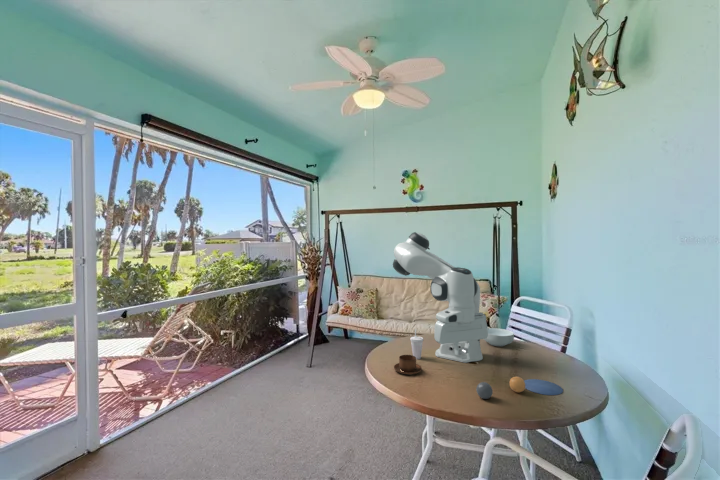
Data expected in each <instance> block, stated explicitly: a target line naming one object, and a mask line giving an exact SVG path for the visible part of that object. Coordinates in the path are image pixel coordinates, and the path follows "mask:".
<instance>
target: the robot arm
mask: <svg viewBox="0 0 720 480" xmlns="http://www.w3.org/2000/svg"><path fill="white" fill-rule="evenodd" d="M428 250H430V240H429V239H428V237H426V235H424V234H423V233H421V232H416V231H415V232H411V234H410V235H409V236H408V238H407V239H406V240H405V241H402V242H399V243H398V244H396V245H395V247H394V249H393V256H394V258H395V259H393V262H392V268H393V269H394V270H395V272H396V273H397V274H400V275H402V276H406V277H407V276H410V274H411V275H414V276H420V277H421V276H423V277H424V276H427V277H428V278H430V279H431V283H430V287H429V288H430V294H431V295H432V297H433V298H434V299H435V300H436V301H438V302H439V301H440V302H448V307H447V308H445V309H444V310H441V311H439V312H437V313H436V315H435V319H436V322H435V324H434V331H433V332H434V333H433V335H434V340H435V342H436V343H438V344H440V346H439V348H437V349H436V350H435V353H434V354H435V355H434V356H435V357H437V358H441V359H446V360H450V361H456V362H461V363H471V362H479V361H482V360H483V359H484V357H483V353H482V348H481V342H480V341H481V340H484V339H486V338H487V336H488V329H487V328H488V324H487V323H488V322H487V316H486V314H485V313H483V312H480V306H481V305H480V304H481V302H480V301H481V286H480V285H479V283H478V282H477V281H476V280H477V279H475V278H474V275H473V272H472V271H471V270H470V269H469V268H466V267H459V266H457V267H455V266H453V265H452V264H450V263H448V261H445V260H444V259H442V258H441V257H439V256H438V255H436V254H434V253H432V252H430V251H428Z"/></svg>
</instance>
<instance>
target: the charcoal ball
mask: <svg viewBox="0 0 720 480" xmlns="http://www.w3.org/2000/svg"><path fill="white" fill-rule="evenodd" d="M493 392H494V391H493V388H492V386H491V385H490V384H489V383H488V382H485V381H482V382H479V383H478V384H477V385H476V394H477V395H478V396H479V397H480V398H481V399H483V400H487V399H490V398H491V397H492V396H493Z"/></svg>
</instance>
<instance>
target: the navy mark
mask: <svg viewBox="0 0 720 480" xmlns="http://www.w3.org/2000/svg"><path fill="white" fill-rule="evenodd" d="M523 380H524V379H523ZM524 382H525V389H526V390H527V391H529V392H533V393H535V394H539V395H544V396H557V395H561V394H563V392H564V389H563V388H562V386H560V385H558V384H557V383H554V382H551V381H548V380H544V379H540V378H539V379H537V378H530V379H525V380H524Z"/></svg>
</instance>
